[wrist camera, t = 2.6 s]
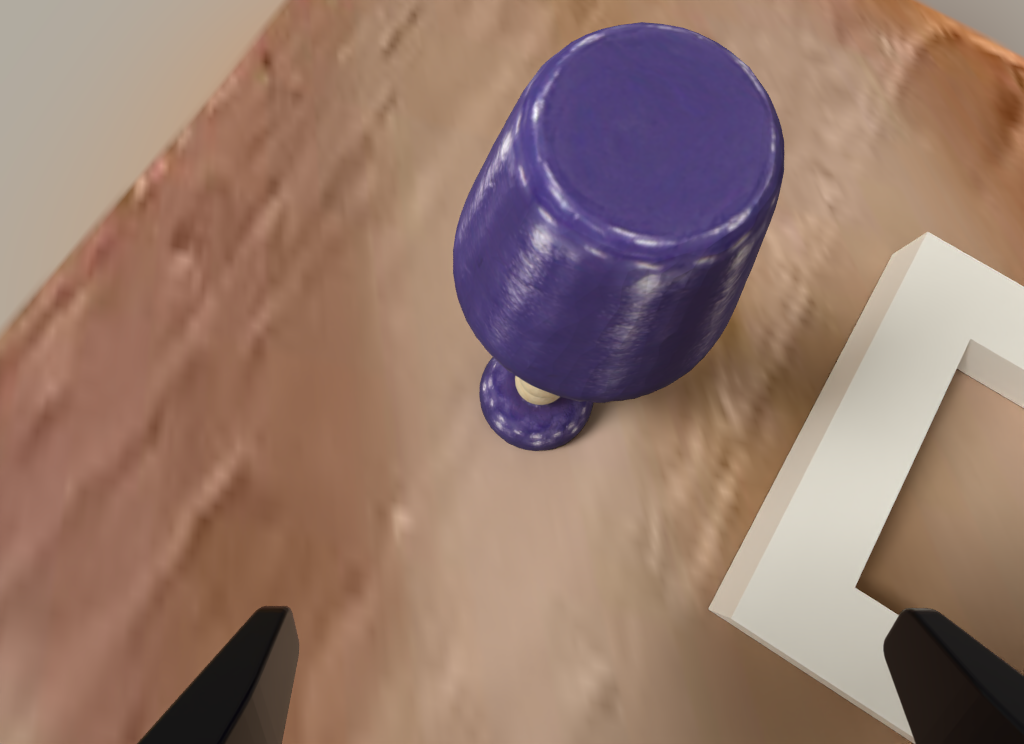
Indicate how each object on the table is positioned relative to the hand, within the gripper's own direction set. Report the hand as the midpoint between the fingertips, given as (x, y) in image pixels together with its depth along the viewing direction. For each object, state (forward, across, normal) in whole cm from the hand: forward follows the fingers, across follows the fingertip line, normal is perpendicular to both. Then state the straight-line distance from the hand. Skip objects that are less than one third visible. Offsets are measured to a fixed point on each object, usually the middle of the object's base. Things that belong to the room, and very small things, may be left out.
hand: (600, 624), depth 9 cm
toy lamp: (+13, 0, +5) cm, 14 cm away
